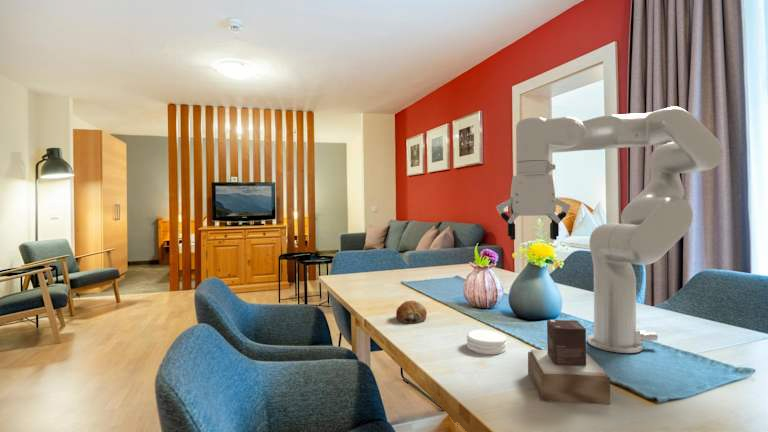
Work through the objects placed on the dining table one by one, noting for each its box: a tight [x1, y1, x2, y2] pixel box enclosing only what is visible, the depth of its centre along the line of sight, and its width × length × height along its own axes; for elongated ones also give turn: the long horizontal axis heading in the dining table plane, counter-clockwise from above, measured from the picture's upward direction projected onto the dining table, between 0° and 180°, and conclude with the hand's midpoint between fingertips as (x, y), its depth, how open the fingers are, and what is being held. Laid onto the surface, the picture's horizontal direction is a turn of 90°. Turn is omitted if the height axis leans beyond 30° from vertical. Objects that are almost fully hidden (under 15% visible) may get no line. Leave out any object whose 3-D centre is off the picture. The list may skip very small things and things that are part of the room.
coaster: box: [466, 329, 508, 356], centre depth 104 cm, size 10×10×4 cm
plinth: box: [527, 349, 611, 405], centre depth 81 cm, size 12×12×6 cm
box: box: [546, 319, 587, 366], centre depth 80 cm, size 6×6×7 cm
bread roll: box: [395, 300, 427, 325], centre depth 131 cm, size 10×10×8 cm
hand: (532, 239), depth 99 cm, fingers open, 9 cm apart
